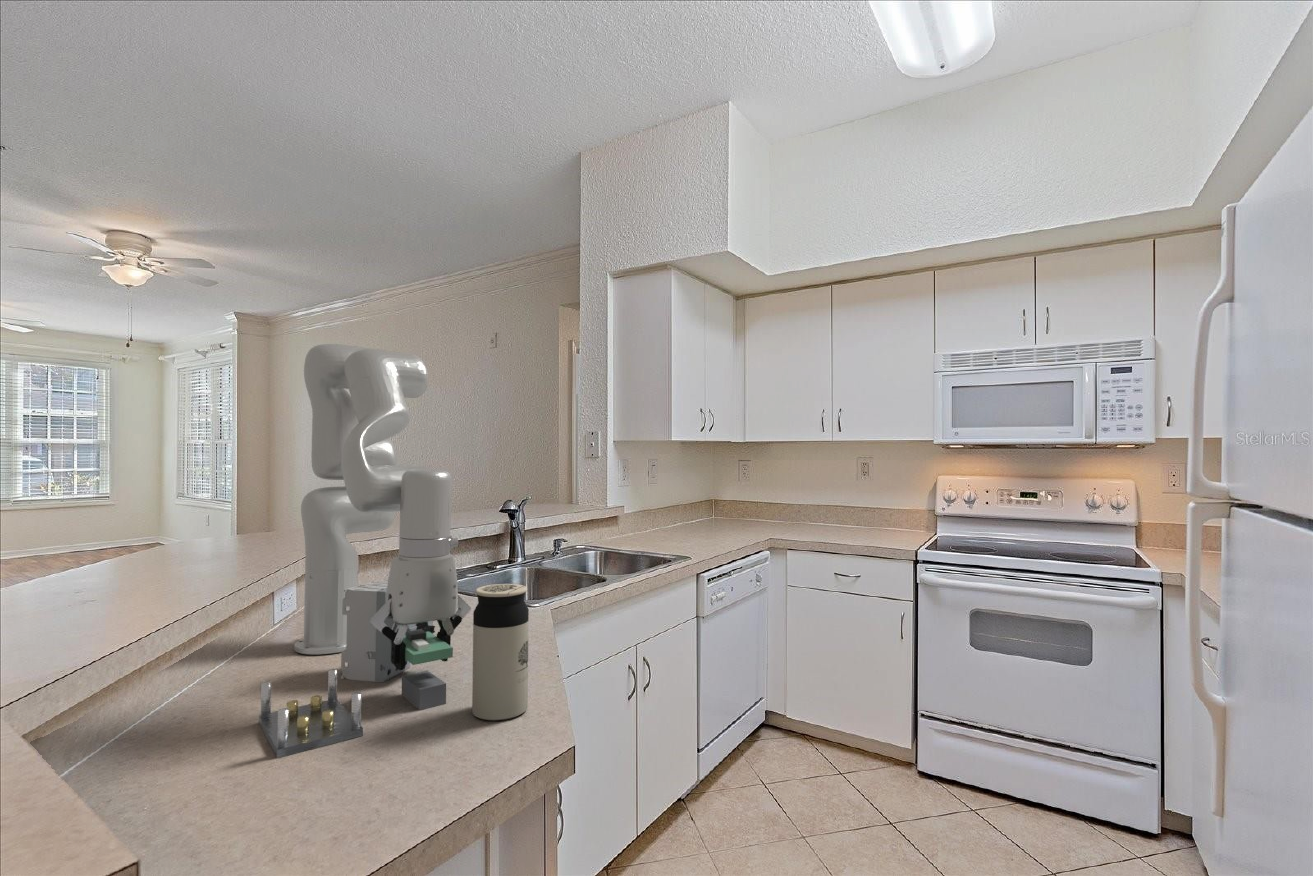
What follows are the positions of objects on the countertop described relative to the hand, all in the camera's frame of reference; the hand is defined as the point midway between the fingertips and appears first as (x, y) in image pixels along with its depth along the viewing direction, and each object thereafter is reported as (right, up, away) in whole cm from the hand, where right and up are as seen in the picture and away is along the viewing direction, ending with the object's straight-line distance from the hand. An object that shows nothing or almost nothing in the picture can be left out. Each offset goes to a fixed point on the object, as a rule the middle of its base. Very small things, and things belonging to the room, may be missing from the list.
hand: (420, 662), depth 99 cm
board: (0, +2, 0) cm, 2 cm away
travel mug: (+14, -5, -6) cm, 16 cm away
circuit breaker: (-9, -6, +11) cm, 15 cm away
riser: (+1, -5, -1) cm, 5 cm away
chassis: (-11, -5, -12) cm, 17 cm away
